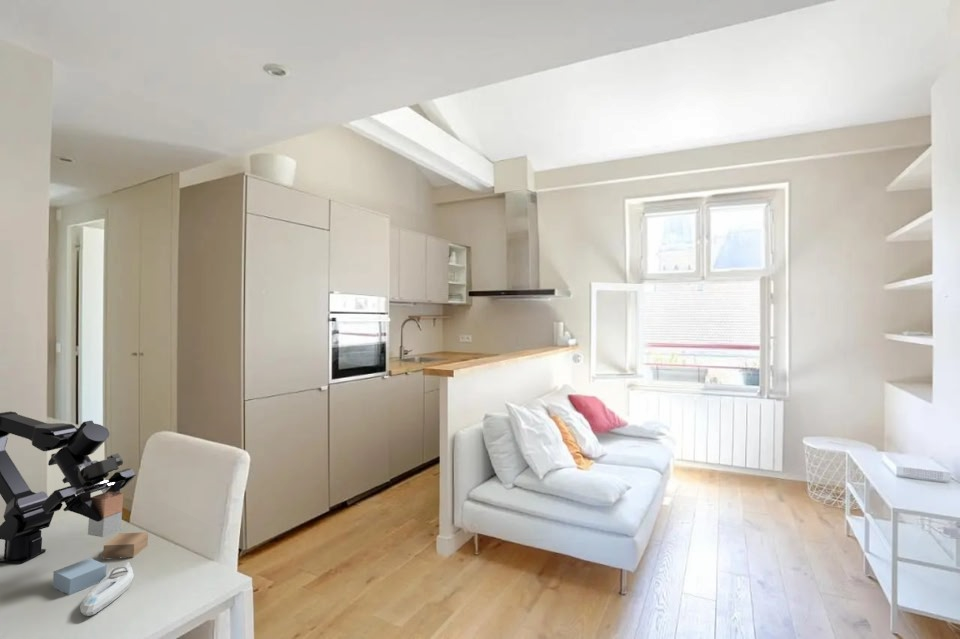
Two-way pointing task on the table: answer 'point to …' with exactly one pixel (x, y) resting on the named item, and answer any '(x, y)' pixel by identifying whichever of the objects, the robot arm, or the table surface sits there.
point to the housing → (107, 514)
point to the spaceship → (108, 589)
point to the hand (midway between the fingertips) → (110, 516)
